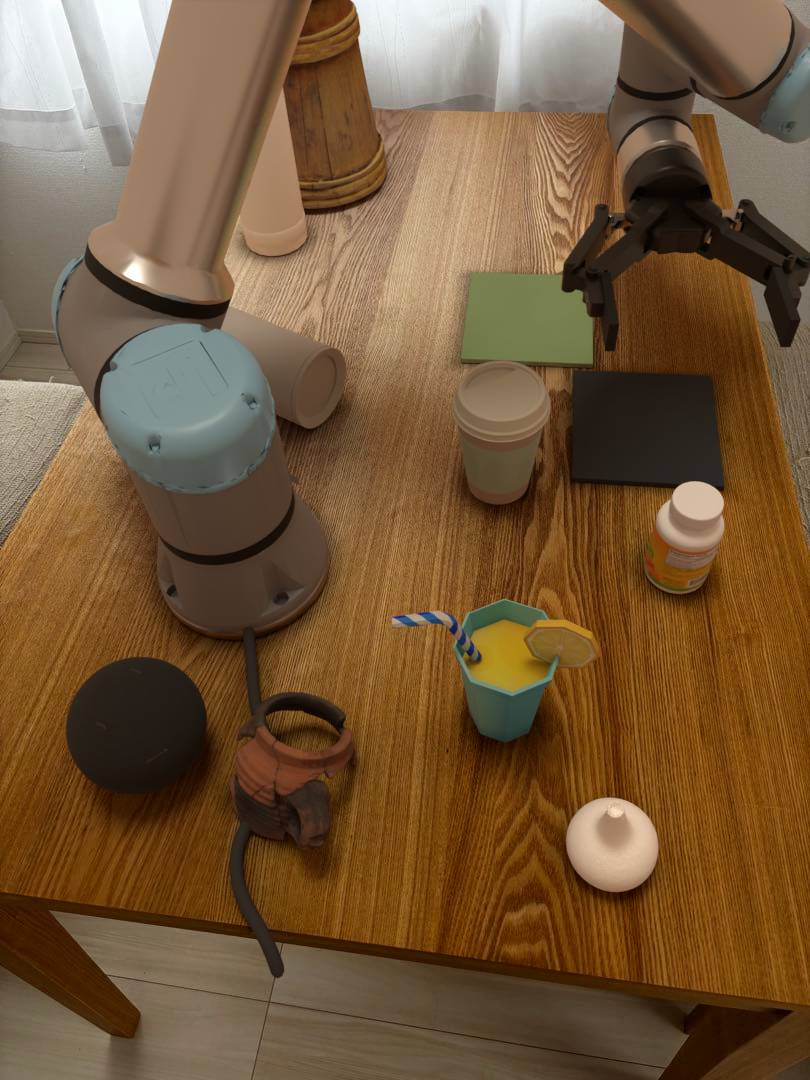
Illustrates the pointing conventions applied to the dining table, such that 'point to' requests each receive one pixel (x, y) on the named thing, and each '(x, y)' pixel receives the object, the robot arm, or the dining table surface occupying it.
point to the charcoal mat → (644, 429)
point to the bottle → (275, 194)
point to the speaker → (136, 725)
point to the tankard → (332, 110)
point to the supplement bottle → (685, 538)
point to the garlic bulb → (612, 844)
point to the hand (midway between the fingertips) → (700, 336)
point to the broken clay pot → (288, 773)
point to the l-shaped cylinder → (292, 367)
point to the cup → (509, 660)
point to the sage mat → (526, 322)
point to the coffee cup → (500, 427)
